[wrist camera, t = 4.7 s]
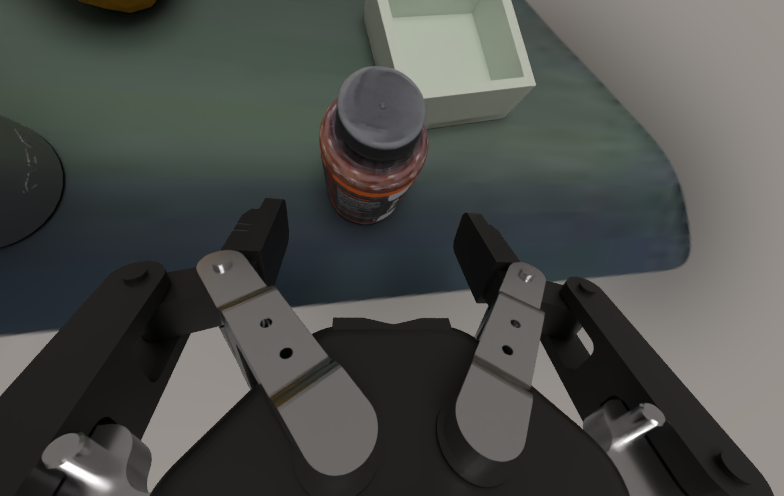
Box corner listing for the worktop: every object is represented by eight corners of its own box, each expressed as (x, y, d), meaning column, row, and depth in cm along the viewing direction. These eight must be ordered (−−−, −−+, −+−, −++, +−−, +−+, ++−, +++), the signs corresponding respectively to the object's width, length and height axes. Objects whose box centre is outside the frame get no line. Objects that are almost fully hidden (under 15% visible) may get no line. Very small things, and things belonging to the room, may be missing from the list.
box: (392, 134, 24) (402, 101, 20) (363, 19, 25) (368, -38, 21) (503, 118, 26) (536, 85, 22) (474, 12, 27) (499, -40, 23)
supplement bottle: (404, 221, 23) (458, 168, 12) (332, 229, 22) (321, 178, 11) (393, 154, 24) (437, 44, 13) (323, 158, 23) (304, 43, 12)
